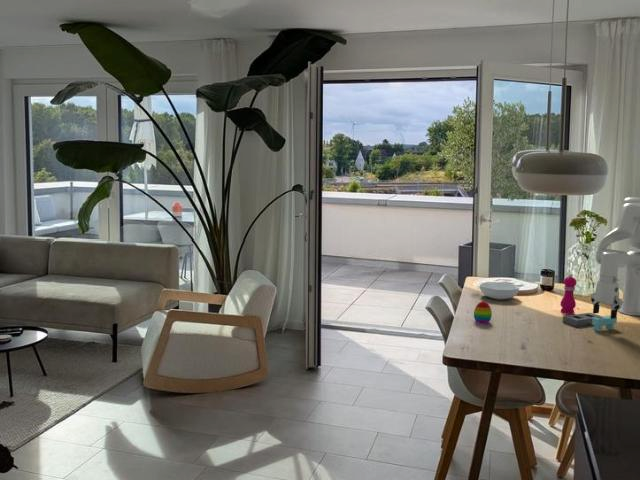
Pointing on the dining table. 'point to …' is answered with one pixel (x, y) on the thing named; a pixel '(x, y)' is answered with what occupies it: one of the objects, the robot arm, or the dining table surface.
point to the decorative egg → (482, 312)
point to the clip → (603, 322)
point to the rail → (580, 319)
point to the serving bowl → (499, 290)
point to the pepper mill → (568, 296)
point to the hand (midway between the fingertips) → (604, 315)
